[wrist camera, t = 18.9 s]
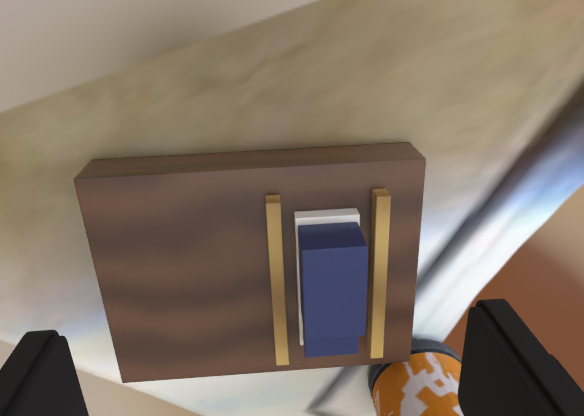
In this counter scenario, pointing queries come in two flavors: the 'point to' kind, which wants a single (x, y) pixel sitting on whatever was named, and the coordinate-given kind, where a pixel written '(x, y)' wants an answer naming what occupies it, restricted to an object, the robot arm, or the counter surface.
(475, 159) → the counter surface
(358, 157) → the brown rectangular slab
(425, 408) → the canister
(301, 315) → the blue box
